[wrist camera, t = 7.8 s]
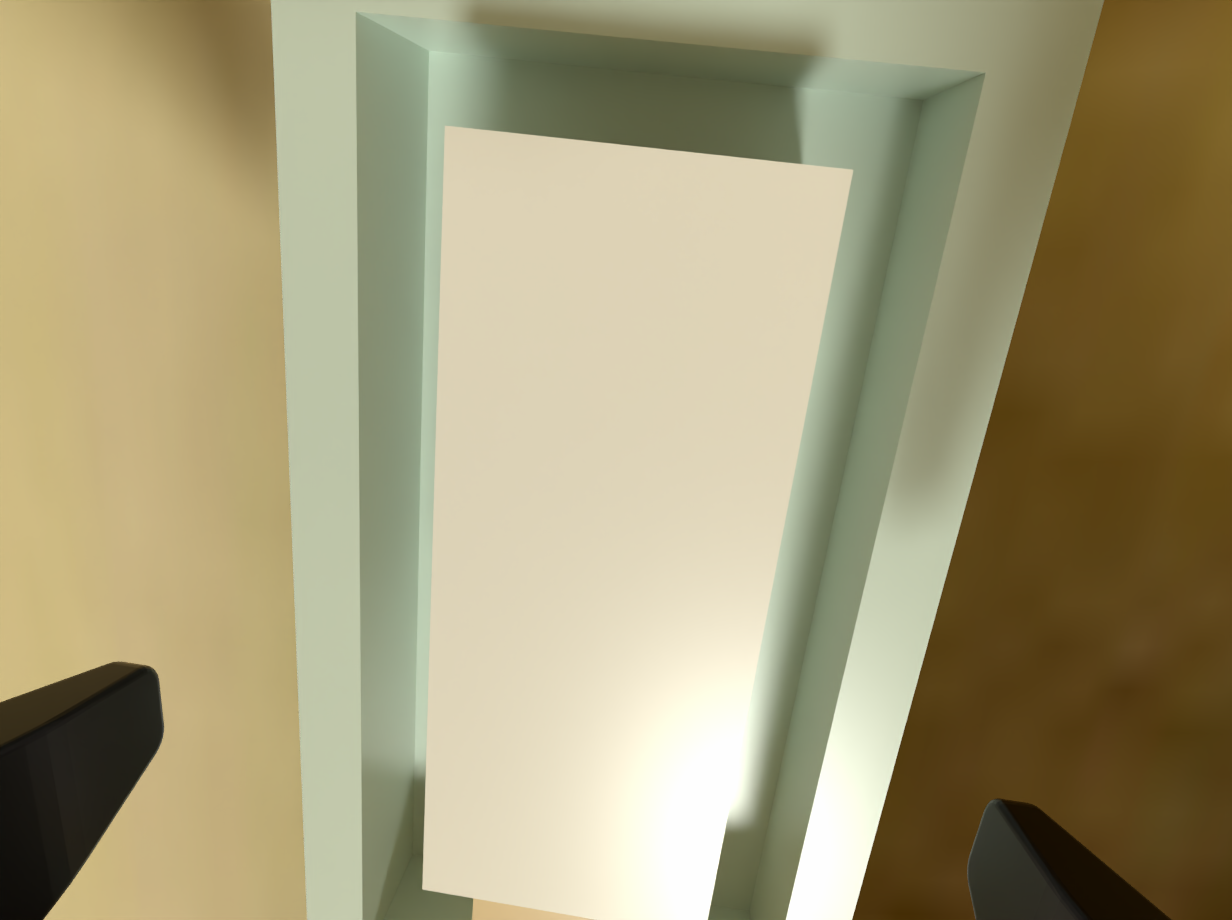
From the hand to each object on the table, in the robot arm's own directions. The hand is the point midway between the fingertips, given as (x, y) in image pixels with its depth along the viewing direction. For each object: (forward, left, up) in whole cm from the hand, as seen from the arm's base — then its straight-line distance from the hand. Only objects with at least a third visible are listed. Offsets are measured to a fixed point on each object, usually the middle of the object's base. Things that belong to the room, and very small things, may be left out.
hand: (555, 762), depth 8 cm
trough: (0, 0, -6) cm, 6 cm away
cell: (0, 0, -5) cm, 5 cm away
